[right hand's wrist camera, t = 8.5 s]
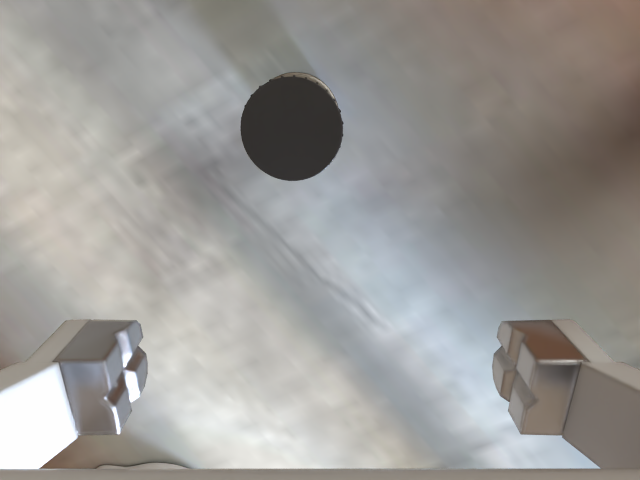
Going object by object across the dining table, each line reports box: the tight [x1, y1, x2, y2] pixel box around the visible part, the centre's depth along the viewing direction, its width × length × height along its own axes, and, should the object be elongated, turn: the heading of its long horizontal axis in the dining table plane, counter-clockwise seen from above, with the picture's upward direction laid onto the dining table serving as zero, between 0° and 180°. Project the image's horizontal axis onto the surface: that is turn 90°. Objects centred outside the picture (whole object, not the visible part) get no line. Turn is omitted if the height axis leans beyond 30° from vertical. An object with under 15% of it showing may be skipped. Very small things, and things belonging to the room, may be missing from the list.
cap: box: [241, 75, 343, 181], centre depth 21 cm, size 5×5×2 cm
